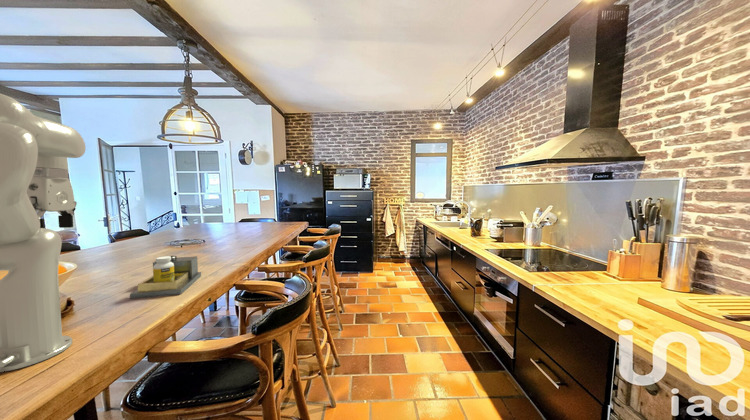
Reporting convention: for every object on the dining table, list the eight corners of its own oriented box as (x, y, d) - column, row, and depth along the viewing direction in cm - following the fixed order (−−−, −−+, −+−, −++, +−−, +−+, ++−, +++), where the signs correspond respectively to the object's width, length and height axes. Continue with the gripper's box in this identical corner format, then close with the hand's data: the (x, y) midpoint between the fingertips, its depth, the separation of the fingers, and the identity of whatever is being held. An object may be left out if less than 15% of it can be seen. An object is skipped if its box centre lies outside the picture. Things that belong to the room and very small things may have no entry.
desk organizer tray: (181, 294, 96) (180, 266, 95) (130, 299, 91) (128, 270, 90) (201, 276, 117) (200, 253, 116) (160, 279, 112) (159, 255, 111)
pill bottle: (156, 289, 95) (154, 260, 94) (152, 285, 99) (150, 257, 98) (176, 284, 100) (175, 257, 99) (172, 281, 104) (171, 254, 103)
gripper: (37, 173, 67) (41, 233, 68) (87, 176, 83) (90, 225, 85) (-2, 171, 65) (3, 234, 66) (57, 175, 81) (61, 226, 82)
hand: (52, 229), depth 75 cm, fingers open, 9 cm apart
